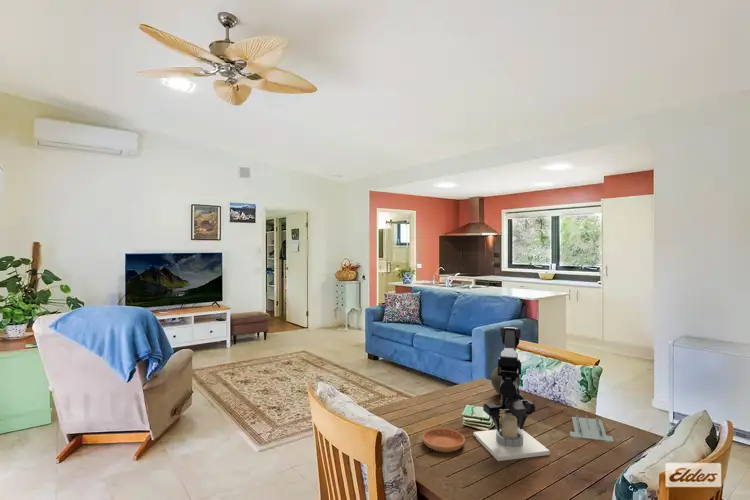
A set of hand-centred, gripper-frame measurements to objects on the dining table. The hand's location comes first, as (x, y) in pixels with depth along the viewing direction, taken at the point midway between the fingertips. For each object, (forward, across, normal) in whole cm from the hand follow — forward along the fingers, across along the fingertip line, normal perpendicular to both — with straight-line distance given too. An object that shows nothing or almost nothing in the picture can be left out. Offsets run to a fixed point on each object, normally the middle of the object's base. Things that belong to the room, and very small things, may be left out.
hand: (509, 430), depth 158 cm
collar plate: (+6, 0, 0) cm, 6 cm away
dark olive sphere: (+6, +24, +47) cm, 53 cm away
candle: (+4, 0, 0) cm, 4 cm away
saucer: (+6, -24, +6) cm, 25 cm away
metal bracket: (+6, +36, +2) cm, 37 cm away
